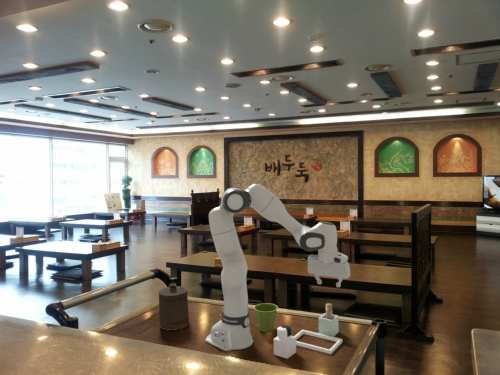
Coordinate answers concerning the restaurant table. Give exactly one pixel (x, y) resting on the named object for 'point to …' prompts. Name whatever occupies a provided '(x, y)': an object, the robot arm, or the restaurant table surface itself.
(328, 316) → the beech dowel
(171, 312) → the wooden container
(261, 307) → the plant pot
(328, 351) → the melamine tray
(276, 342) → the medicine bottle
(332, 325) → the celadon cup
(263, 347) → the restaurant table surface
